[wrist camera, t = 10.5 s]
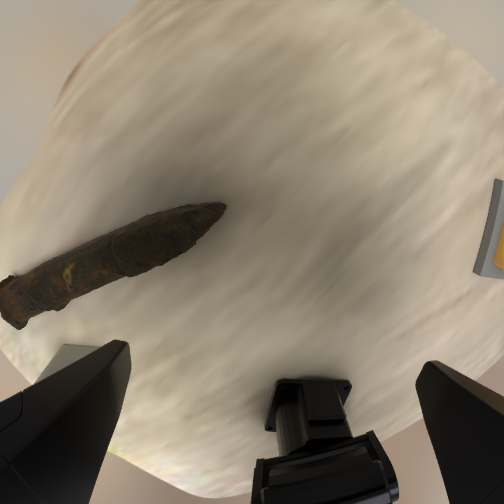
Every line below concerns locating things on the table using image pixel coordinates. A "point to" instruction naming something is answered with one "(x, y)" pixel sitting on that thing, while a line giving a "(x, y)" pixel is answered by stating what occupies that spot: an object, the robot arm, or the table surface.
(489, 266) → the grey base with peg
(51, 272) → the hand tool
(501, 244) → the orange foam cube
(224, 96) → the table surface
